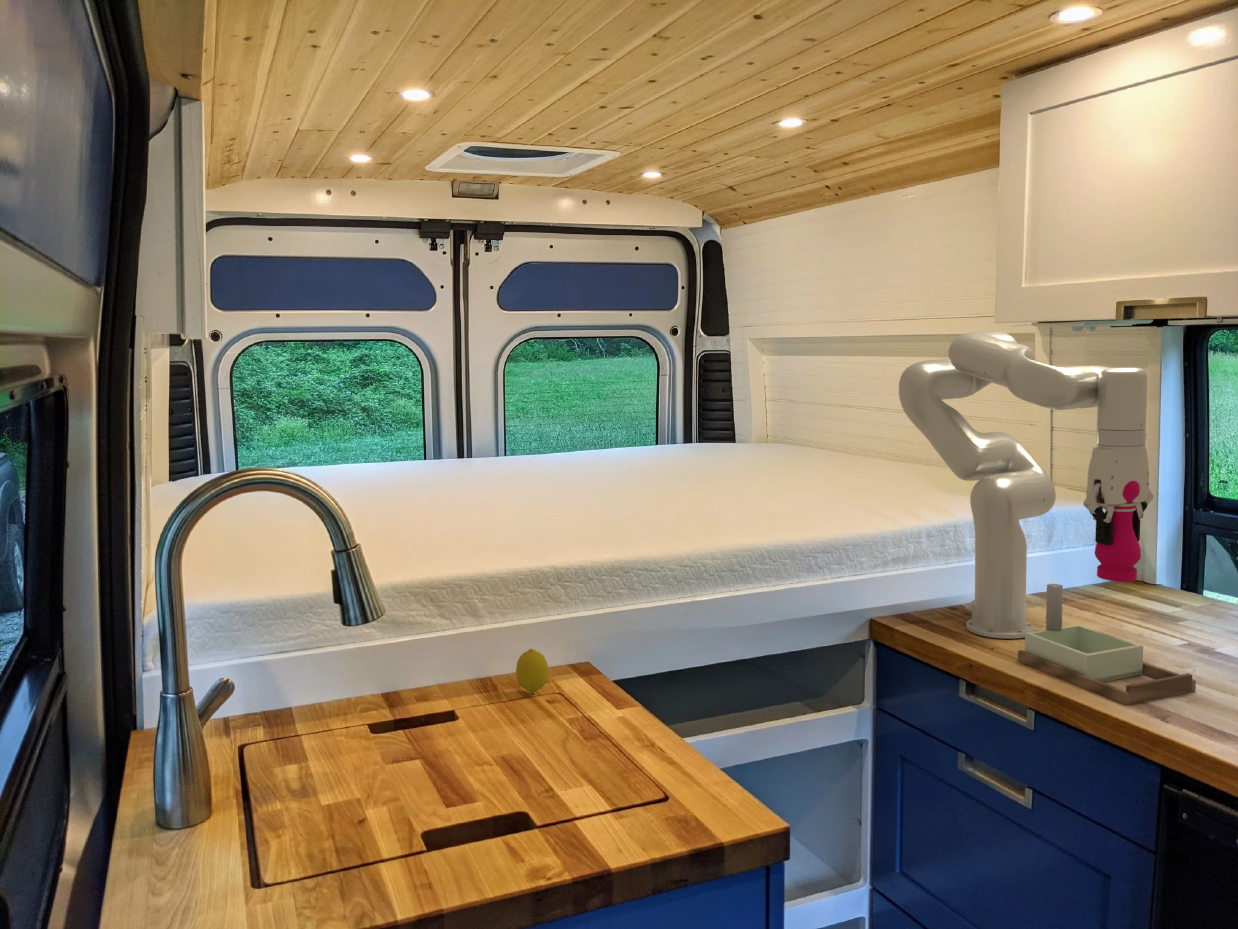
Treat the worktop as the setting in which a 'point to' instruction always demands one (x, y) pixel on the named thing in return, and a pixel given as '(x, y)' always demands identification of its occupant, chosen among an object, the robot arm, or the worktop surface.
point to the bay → (1134, 693)
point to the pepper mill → (1121, 542)
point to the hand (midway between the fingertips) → (1117, 541)
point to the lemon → (532, 670)
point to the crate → (1083, 645)
